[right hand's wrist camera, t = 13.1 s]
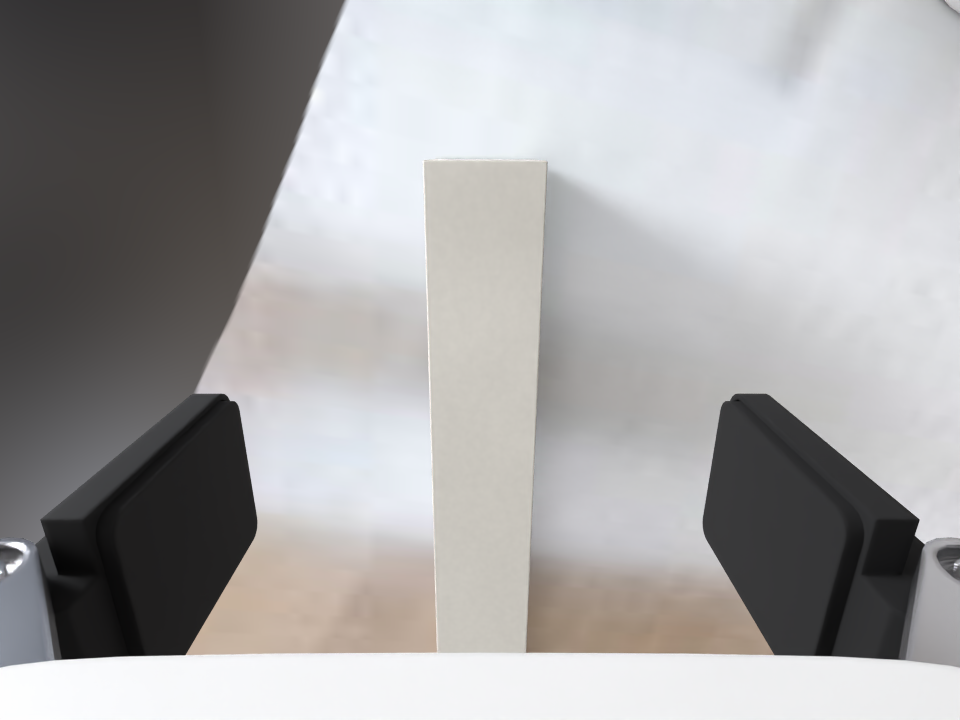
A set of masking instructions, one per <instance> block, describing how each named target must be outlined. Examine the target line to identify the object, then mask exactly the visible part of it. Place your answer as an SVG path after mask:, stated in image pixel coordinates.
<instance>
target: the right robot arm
mask: <svg viewBox="0 0 960 720" xmlns="http://www.w3.org/2000/svg"><path fill="white" fill-rule="evenodd" d="M945 1H946V3H947V4H948V5H949V6H950V7H951V8H952V9H954V10H955V11H957V12H958V13H960V0H945ZM41 523H42V526H43V529H44V532H45V537H43V538H42V539H41V540H40V541H39V542H38V543H37V544H36V545H35V544H34V543H33V542H31V541H29V540H26V539H24V538H1V539H0V720H960V539H959V538H936V539H934V540H931V541H929V542H927V543H926V544H923V543H922V542H921V541H920V540H919V539H918V538H917V537H915V532H916V529H917V526H918V523H919V519H918V518H917V517H916V516H915V515H913V514H912V513H911V512H910V511H909V510H907V509H906V508H905V507H904V506H902V505H901V504H900V503H899V502H898V501H896V500H895V499H894V498H893V497H892V496H890V495H889V494H888V493H887V492H886V491H884V490H883V489H882V488H881V487H880V486H878V485H877V484H876V483H875V482H873V481H872V480H871V479H870V478H869V477H867V476H866V475H865V474H864V473H863V472H861V471H860V470H859V469H858V468H857V467H855V466H854V465H853V464H852V463H851V462H849V461H848V460H847V459H846V458H844V457H843V456H842V455H841V454H840V453H838V452H837V451H836V450H835V449H834V448H832V447H831V446H830V445H829V444H828V443H826V442H825V441H824V440H823V439H822V438H820V437H819V436H818V435H817V434H815V433H814V432H813V431H812V430H811V429H809V428H808V427H807V426H806V425H805V424H803V423H802V422H801V421H800V420H799V419H797V418H796V417H795V416H794V415H793V414H791V413H790V412H789V411H788V410H786V409H785V408H784V407H783V406H782V405H780V404H779V403H778V402H777V401H776V400H774V399H773V398H772V397H771V396H769V395H767V394H735V395H734V396H733V397H732V398H731V400H730V401H725V402H724V403H723V405H722V407H721V411H720V417H719V423H718V429H717V435H716V441H715V447H714V454H713V460H712V466H711V472H710V478H709V484H708V490H707V497H706V503H705V509H704V515H703V531H704V535H705V537H706V540H707V541H708V543H709V545H710V546H711V548H712V550H713V551H714V553H715V555H716V557H717V558H718V560H719V562H720V563H721V565H722V567H723V568H724V570H725V572H726V574H727V575H728V577H729V579H730V580H731V582H732V584H733V585H734V587H735V589H736V590H737V592H738V594H739V596H740V597H741V599H742V601H743V602H744V604H745V606H746V607H747V609H748V611H749V612H750V614H751V616H752V618H753V619H754V621H755V623H756V624H757V626H758V628H759V629H760V631H761V633H762V635H763V636H764V638H765V640H766V641H767V643H768V645H769V646H770V648H771V650H772V651H773V653H774V655H729V654H654V653H305V654H231V655H186V653H187V651H188V650H189V648H190V646H191V645H192V643H193V641H194V640H195V638H196V636H197V635H198V633H199V631H200V629H201V628H202V626H203V624H204V623H205V621H206V619H207V618H208V616H209V614H210V612H211V611H212V609H213V607H214V606H215V604H216V602H217V601H218V599H219V597H220V596H221V594H222V592H223V590H224V589H225V587H226V585H227V584H228V582H229V580H230V579H231V577H232V575H233V574H234V572H235V570H236V568H237V567H238V565H239V563H240V562H241V560H242V558H243V557H244V555H245V553H246V551H247V550H248V548H249V546H250V545H251V543H252V541H253V540H254V537H255V535H256V531H257V515H256V509H255V503H254V497H253V490H252V484H251V478H250V472H249V466H248V460H247V454H246V447H245V441H244V435H243V429H242V423H241V417H240V411H239V407H238V405H237V403H236V402H235V401H230V400H229V398H228V397H227V396H226V395H225V394H193V395H191V396H189V397H188V398H187V399H186V400H184V401H183V402H182V403H181V404H180V405H178V406H177V407H176V408H175V409H174V410H172V411H171V412H170V413H169V414H167V415H166V416H165V417H164V418H163V419H161V420H160V421H159V422H158V423H157V424H155V425H154V426H153V427H152V428H151V429H149V430H148V431H147V432H146V433H145V434H143V435H142V436H141V437H140V438H138V439H137V440H136V441H135V442H134V443H132V444H131V445H130V446H129V447H128V448H126V449H125V450H124V451H123V452H122V453H120V454H119V455H118V456H117V457H116V458H114V459H113V460H112V461H111V462H109V463H108V464H107V465H106V466H105V467H103V468H102V469H101V470H100V471H99V472H97V473H96V474H95V475H94V476H93V477H91V478H90V479H89V480H88V481H87V482H85V483H84V484H83V485H82V486H80V487H79V488H78V489H77V490H76V491H74V492H73V493H72V494H71V495H70V496H68V497H67V498H66V499H65V500H64V501H62V502H61V503H60V504H59V505H58V506H56V507H55V508H54V509H53V510H52V511H50V512H49V513H48V514H47V515H45V516H44V517H43V518H42V519H41Z"/></svg>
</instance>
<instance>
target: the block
mask: <svg viewBox="0 0 960 720" xmlns="http://www.w3.org/2000/svg"><path fill="white" fill-rule="evenodd" d="M423 182H424V217H425V251H426V286H427V320H428V355H429V389H430V424H431V458H432V493H433V527H434V562H435V596H436V631H437V653H526V642H527V619H528V596H529V573H530V550H531V527H532V504H533V481H534V458H535V435H536V412H537V389H538V366H539V343H540V320H541V297H542V274H543V251H544V228H545V205H546V182H547V161H543V160H532V159H432V160H424V161H423Z"/></svg>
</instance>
